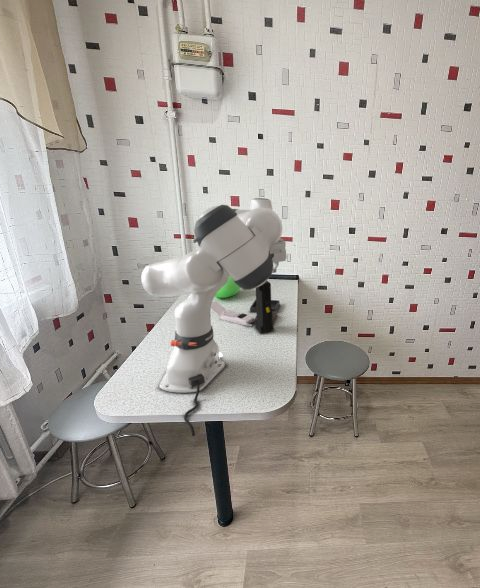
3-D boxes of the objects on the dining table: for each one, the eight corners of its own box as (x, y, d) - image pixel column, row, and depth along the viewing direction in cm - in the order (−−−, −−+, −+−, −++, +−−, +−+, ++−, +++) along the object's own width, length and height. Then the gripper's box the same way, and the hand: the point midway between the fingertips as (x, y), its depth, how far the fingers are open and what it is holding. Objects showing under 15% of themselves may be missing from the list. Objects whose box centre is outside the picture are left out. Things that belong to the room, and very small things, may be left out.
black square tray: (275, 313, 159) (275, 309, 158) (250, 312, 160) (250, 307, 159) (279, 305, 169) (279, 300, 168) (255, 303, 170) (255, 299, 169)
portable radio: (275, 332, 143) (274, 277, 133) (262, 335, 139) (260, 279, 130) (267, 324, 149) (266, 272, 139) (254, 327, 145) (252, 273, 136)
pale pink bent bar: (214, 300, 157) (258, 310, 148) (215, 311, 159) (258, 322, 150) (205, 304, 151) (249, 316, 142) (206, 316, 154) (250, 328, 145)
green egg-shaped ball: (228, 304, 167) (226, 277, 161) (200, 299, 171) (197, 272, 166) (247, 292, 183) (246, 267, 177) (221, 288, 187) (219, 263, 182)
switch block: (271, 325, 149) (271, 317, 147) (254, 323, 149) (253, 315, 147) (276, 315, 158) (276, 307, 156) (259, 314, 158) (259, 306, 157)
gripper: (281, 236, 138) (281, 268, 143) (234, 241, 125) (236, 276, 130) (289, 239, 133) (289, 272, 138) (241, 245, 121) (243, 280, 126)
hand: (263, 274), depth 134 cm, fingers open, 8 cm apart
